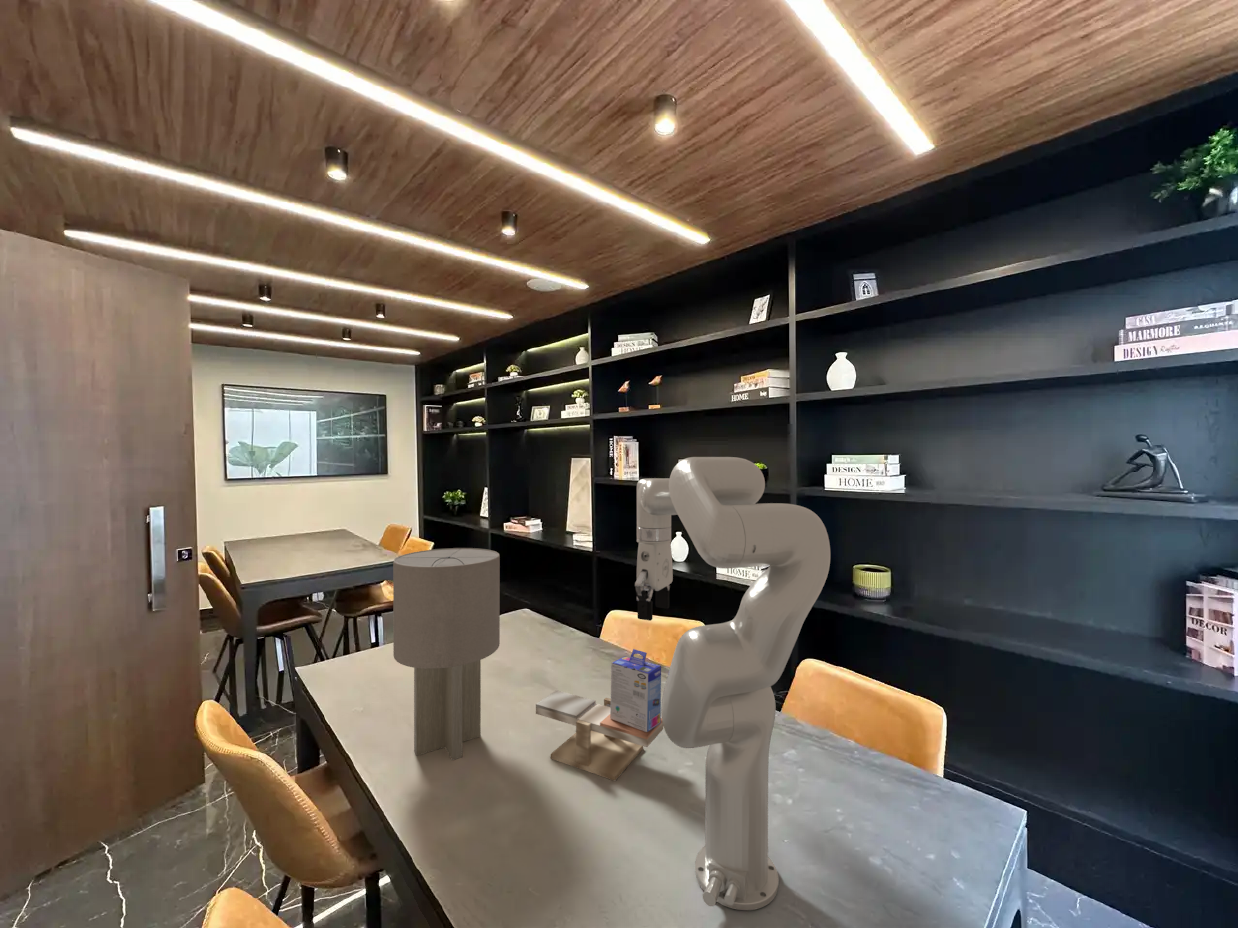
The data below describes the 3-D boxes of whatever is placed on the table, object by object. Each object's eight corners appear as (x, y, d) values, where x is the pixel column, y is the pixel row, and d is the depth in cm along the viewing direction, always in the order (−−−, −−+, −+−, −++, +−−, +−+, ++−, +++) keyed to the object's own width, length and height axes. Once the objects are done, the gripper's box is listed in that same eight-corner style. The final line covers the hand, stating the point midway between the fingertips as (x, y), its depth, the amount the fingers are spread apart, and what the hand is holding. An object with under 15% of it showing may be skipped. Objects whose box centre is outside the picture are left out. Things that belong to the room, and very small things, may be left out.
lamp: (404, 787, 100) (404, 571, 100) (385, 735, 119) (385, 553, 119) (514, 751, 113) (514, 559, 113) (481, 709, 132) (481, 545, 132)
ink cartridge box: (662, 722, 107) (662, 654, 107) (648, 734, 103) (648, 662, 102) (624, 709, 113) (624, 644, 113) (609, 719, 108) (609, 651, 108)
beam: (665, 726, 110) (665, 716, 110) (645, 749, 101) (645, 738, 101) (558, 697, 123) (558, 688, 123) (532, 715, 114) (532, 705, 114)
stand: (643, 748, 114) (643, 706, 114) (614, 780, 102) (614, 733, 102) (583, 730, 122) (583, 691, 121) (550, 758, 110) (550, 714, 110)
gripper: (654, 541, 101) (654, 627, 101) (683, 531, 117) (683, 605, 117) (620, 539, 105) (620, 621, 105) (653, 529, 120) (653, 601, 120)
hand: (653, 613), depth 111 cm, fingers open, 9 cm apart
